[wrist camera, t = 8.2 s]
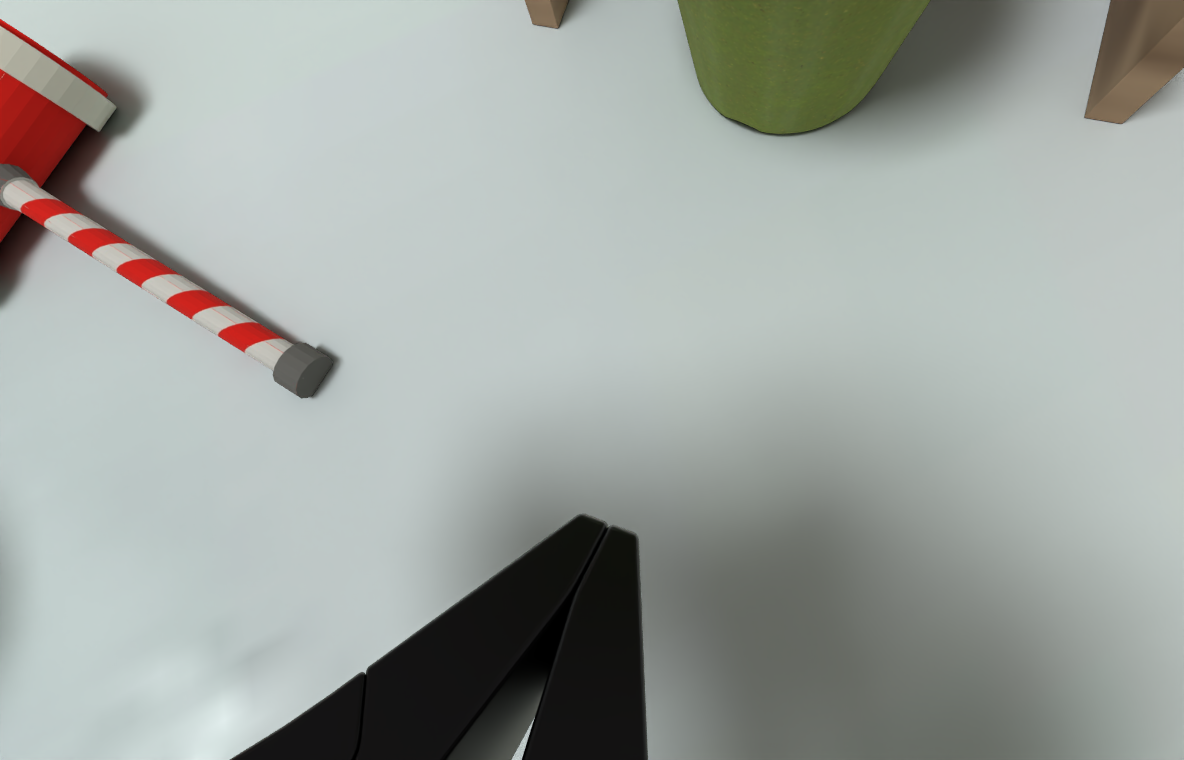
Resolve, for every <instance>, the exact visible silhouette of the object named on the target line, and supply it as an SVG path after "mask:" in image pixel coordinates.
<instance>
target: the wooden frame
mask: <svg viewBox="0 0 1184 760" xmlns="http://www.w3.org/2000/svg"><path fill="white" fill-rule="evenodd" d="M568 1H569V0H525V2H526V5H527V8H528V11H529V14H530V17H531V20H532V23H533V24H535V25H541V26H547V27H553V28H558V27H559V24H560V22H561V19H562V17H563V14H564V11H565V9H566V6H567V4H568ZM1183 68H1184V0H1111V3H1110V7H1109V11H1108V16H1107V20H1106V25H1105V29H1104V33H1103V38H1102V42H1101V47H1100V51H1099V56H1098V60H1097V64H1096V69H1095V73H1094V78H1093V82H1092V86H1091V91H1090V95H1089V100H1088V104H1087V109H1086V113H1085V118H1090V119H1096V120H1102V121H1108V122H1114V123H1120V124H1122V123H1123V122H1124V121H1126V120H1127V119H1128V118H1129V117H1130V116H1131V115H1132V114H1133V113H1134V112H1135V111H1137V110H1138V109H1139V108H1140V107H1141V106H1142V105H1143V104H1144V103H1145V102H1146V101H1148V100H1149V99H1150V98H1151V97H1152V96H1153V95H1154V94H1155V93H1156V92H1157V91H1159V90H1160V89H1161V88H1162V87H1163V86H1164V85H1165V84H1166V83H1167V82H1168V81H1170V80H1171V79H1172V78H1173V77H1174V76H1175V75H1176V74H1177V73H1178V72H1179V71H1181V70H1182V69H1183Z"/></svg>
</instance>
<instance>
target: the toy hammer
mask: <svg viewBox="0 0 1184 760" xmlns="http://www.w3.org/2000/svg"><path fill="white" fill-rule="evenodd" d="M107 96H108V94H107V93H106V92H105V91H104V90H102V89H101V88H100V87H99V86H97V85H96V84H95V83H94V82H92V81H91V80H90V79H88V78H87V77H85V76H84V75H83V74H81V73H80V72H79V71H77V70H76V69H74V68H73V67H71V66H70V65H69V64H67V63H66V62H64V61H63V60H61V59H60V58H59V57H57V56H56V55H54V54H53V53H51V52H50V51H48V50H47V49H45V48H44V47H42V46H41V45H39V44H38V43H36V42H35V41H33V40H32V39H30V38H29V37H27V36H26V35H24V34H23V33H21V32H20V31H18V30H17V29H15V28H13V27H12V26H10V25H9V24H7V23H6V22H4V21H2V20H1V19H0V242H1V241H2V240H3V238H4V237H5V236H6V234H7V233H8V232H9V230H10V229H11V227H12V226H13V225H14V223H15V222H16V221H17V219H18V218H19V216H20V215H21V214H22V213H23V214H25V215H26V216H28V217H29V218H31V219H33V220H34V221H36V222H37V223H39V224H41V225H42V226H44V227H45V228H47V229H49V230H50V231H52V232H53V233H55V234H56V235H58V236H60V237H61V238H63V239H64V240H66V241H68V242H69V243H71V244H72V245H74V246H76V247H77V248H79V249H80V250H82V251H84V252H85V253H87V254H88V255H90V256H91V257H93V258H95V259H96V260H98V261H99V262H101V263H103V264H104V265H106V266H107V267H109V268H111V269H112V270H114V271H115V272H117V273H119V274H120V275H122V276H123V277H125V278H126V279H128V280H130V281H131V282H133V283H134V284H136V285H138V286H139V287H141V288H142V289H144V290H146V291H147V292H149V293H150V294H152V295H154V296H155V297H157V298H158V299H160V300H161V301H163V302H165V303H166V304H168V305H169V306H171V307H173V308H174V309H176V310H177V311H179V312H181V313H182V314H184V315H185V316H187V317H189V318H190V319H192V320H193V321H195V322H196V323H198V324H200V325H201V326H203V327H204V328H206V329H208V330H209V331H211V332H212V333H214V334H216V335H217V336H219V337H220V338H222V339H224V340H225V341H227V342H228V343H230V344H231V345H233V346H235V347H236V348H238V349H239V350H241V351H243V352H244V353H246V354H247V355H249V356H251V357H252V358H254V359H255V360H257V361H258V362H260V363H262V364H263V365H265V366H266V367H268V368H269V369H271V370H273V377H274V381H275V382H277V383H278V384H280V385H281V386H283V387H284V388H286V389H288V390H289V391H291V392H292V393H294V394H296V395H297V396H299V397H300V398H308V397H310V396H312V395H313V394H314V392H315V391H316V389H317V388H318V386H319V385H320V383H321V382H322V380H323V379H324V377H325V376H326V374H327V372H328V371H329V369H330V368H331V366H332V365H333V363H332V360H331V359H330V358H329V357H328V356H326V355H325V354H323V353H322V352H320V351H318V350H317V349H315V348H313V347H312V346H310V345H309V344H307V343H297V344H295V345H293V344H292V343H290V342H288V341H287V340H285V339H284V338H282V337H280V336H279V335H277V334H275V333H274V332H272V331H271V330H269V329H267V328H266V327H264V326H262V325H261V324H259V323H258V322H256V321H254V320H253V319H251V318H250V317H248V316H246V315H245V314H243V313H241V312H240V311H238V310H237V309H235V308H233V307H232V306H230V305H228V304H227V303H225V302H224V301H222V300H220V299H219V298H217V297H216V296H214V295H212V294H211V293H209V292H207V291H206V290H204V289H203V288H201V287H199V286H198V285H196V284H194V283H193V282H191V281H190V280H188V279H186V278H185V277H183V276H182V275H180V274H178V273H177V272H175V271H173V270H172V269H170V268H169V267H167V266H165V265H164V264H162V263H160V262H159V261H157V260H156V259H154V258H152V257H151V256H149V255H148V254H146V253H144V252H143V251H141V250H139V249H138V248H136V247H135V246H133V245H131V244H130V243H128V242H126V241H125V240H123V239H122V238H120V237H118V236H117V235H115V234H114V233H112V232H110V231H109V230H107V229H105V228H104V227H102V226H101V225H99V224H97V223H96V222H94V221H92V220H91V219H89V218H88V217H86V216H84V215H83V214H81V213H80V212H78V211H76V210H75V209H73V208H71V207H70V206H68V205H67V204H65V203H63V202H62V201H60V200H59V199H57V198H55V197H54V196H52V195H51V194H49V193H47V192H46V191H44V190H43V189H41V186H42V185H43V184H44V182H45V181H46V179H47V178H48V177H49V175H50V174H51V173H52V171H53V170H54V168H55V167H56V166H57V164H58V163H59V162H60V160H61V159H62V157H63V156H64V155H65V153H66V152H67V151H68V149H69V148H70V147H71V145H72V144H73V142H74V141H75V140H76V138H77V137H78V136H79V134H80V133H81V131H82V130H83V129H84V127H85V126H86V125H88V126H89V127H91V128H93V129H94V130H96V131H98V132H99V131H100V130H101V129H102V127H103V126H104V124H105V123H106V122H107V120H108V119H109V118H110V116H111V115H112V113H113V112H114V111H115V109H116V108H117V107H116V106H115V105H114V104H113V103H112V102H110V101H109V100H108V99H107V98H106V97H107Z"/></svg>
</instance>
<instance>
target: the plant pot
mask: <svg viewBox="0 0 1184 760" xmlns="http://www.w3.org/2000/svg"><path fill="white" fill-rule="evenodd" d="M929 2H930V0H678V4H679V8H680V12H681V16H682V20H683V24H684V28H685V32H686V35H687V39H688V43H689V47H690V51H691V55H692V59H693V63H694V67H695V70H696V74H697V78H698V81H699V84H700V86H701V88H702V90H703V93H704V94H705V96H706V97H707V99H708V100H709V101H710V103H711V104H712V105H713V106H714V107H715V108H716V109H717V111H719V112H720V113H721V114H723V115H724V116H725V117H727V118H731V119H734V120H737V121H739V122H742V123H744V124H746V125H749V126H751V127H753V128H755V129H757V130H759V131H761V132H766V133H776V134H784V133H797V132H805V131H808V130H812V129H816V128H819V127H822V126H824V125H826V124H829V123H831V122H833V121H835V120H836V119H838V118H840V117H842V116H843V115H845V114H847V113H848V112H849V111H851V110H852V109H853V108H854V107H855V106H856V105H858V104H859V103H860V102H861V101H862V100H863V99H864V97H865V96H866V95H867V94H868V92H869V91H870V90H871V89H872V87H873V86H874V85H875V83H876V82H877V80H878V79H879V78H880V76H881V75H882V73H883V72H884V70H885V69H886V67H887V66H888V64H889V63H890V61H891V59H892V58H893V56H894V55H895V53H896V52H897V50H898V49H899V47H900V46H901V44H902V43H903V41H904V40H905V38H906V37H907V35H908V34H909V32H910V31H911V29H912V27H913V26H914V24H915V23H916V21H917V20H918V18H919V17H920V15H921V14H922V12H923V11H924V9H925V8H926V6H927V5H928V3H929Z"/></svg>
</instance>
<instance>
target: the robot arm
mask: <svg viewBox="0 0 1184 760" xmlns="http://www.w3.org/2000/svg"><path fill="white" fill-rule="evenodd" d="M534 717H535V719H534ZM533 719H534V722H533V725H532V728H531V731H530V735H529V738H528V741H527V744H526V748H525V751H524V754H523V757H522V760H648V751H647V727H646V703H645V679H644V655H643V631H642V607H641V583H640V559H639V539H638V536H637V534H635V533H634V532H631V531H628V530H626V529H623V528H621V527H618V526H615V525H611V526H610V527H608V524H607V523H606V522H605V521H602V520H600V519H597V518H594V517H592V516H589V515H587V514H579V515H577V516H576V517H574V518H573V519H572V520H570V521H569V522H567V523H566V524H565V525H563V526H562V527H561V528H559V529H558V530H556V531H555V532H554V533H552V534H551V535H549V536H548V537H547V538H545V539H544V540H543V541H541V542H540V543H538V544H537V545H536V546H534V547H533V548H532V549H530V550H529V551H527V552H526V553H525V554H523V555H522V556H521V557H519V558H518V559H516V560H515V561H514V562H512V563H511V564H510V565H508V566H507V567H505V568H504V569H503V570H501V571H500V572H499V573H497V574H496V575H494V576H493V577H492V578H490V579H489V580H488V581H486V582H485V583H483V584H482V585H481V586H479V587H478V588H476V589H475V590H474V591H472V592H471V593H470V594H468V595H467V596H465V597H464V598H463V599H461V600H460V601H459V602H457V603H456V604H454V605H453V606H452V607H450V608H449V609H448V610H446V611H445V612H443V613H442V614H441V615H439V616H438V617H437V618H435V619H434V620H432V621H431V622H430V623H428V624H427V625H426V626H424V627H423V628H421V629H420V630H419V631H417V632H416V633H414V634H413V635H412V636H410V637H409V638H408V639H406V640H405V641H403V642H402V643H401V644H399V645H398V646H397V647H395V648H394V649H392V650H391V651H390V652H388V653H387V654H386V655H384V656H383V657H381V658H380V659H379V660H377V661H376V662H375V663H373V664H372V665H370V666H369V667H368V668H367V671H366V674H365V673H364V672H361V673H359V674H357V675H356V676H355V677H353V678H352V679H351V680H349V681H348V682H347V683H345V684H344V685H342V686H341V687H340V688H338V689H337V690H336V691H334V692H333V693H331V694H330V695H329V696H327V697H326V698H324V699H323V700H321V701H320V702H318V703H317V704H315V705H314V706H313V707H311V708H310V709H308V710H307V711H305V712H304V713H302V714H301V715H299V716H298V717H297V718H295V719H294V720H292V721H291V722H289V723H288V724H286V725H285V726H283V727H282V728H280V729H278V730H277V731H275V732H274V733H272V734H270V735H269V736H267V737H266V738H264V739H262V740H261V741H259V742H257V743H256V744H254V745H253V746H251V747H249V748H248V749H246V750H245V751H243V752H241V753H240V754H238V755H236V756H235V757H233V758H232V759H230V760H511V759H512V758H513V756H514V754H515V752H516V750H517V748H518V747H519V745H520V743H521V741H522V739H523V737H524V735H525V734H526V732H527V730H528V728H529V726H530V724H531V723H532V721H533Z"/></svg>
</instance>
